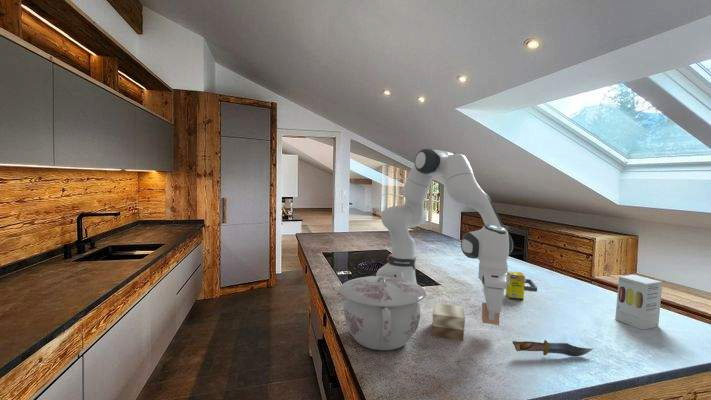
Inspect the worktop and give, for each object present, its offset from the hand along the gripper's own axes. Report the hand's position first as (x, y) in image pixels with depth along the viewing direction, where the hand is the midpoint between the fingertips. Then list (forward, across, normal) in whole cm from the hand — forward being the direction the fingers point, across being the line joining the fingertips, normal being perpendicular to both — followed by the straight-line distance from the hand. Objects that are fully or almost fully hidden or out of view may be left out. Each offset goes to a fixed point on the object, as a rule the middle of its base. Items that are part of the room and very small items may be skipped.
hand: (490, 315), depth 111 cm
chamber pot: (+7, +15, -34) cm, 38 cm away
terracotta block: (+2, 0, 0) cm, 2 cm away
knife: (+7, +9, +17) cm, 20 cm away
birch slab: (+3, +2, -13) cm, 14 cm away
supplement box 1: (+7, -42, +14) cm, 45 cm away
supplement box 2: (+7, -28, +53) cm, 61 cm away
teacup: (+8, -61, +18) cm, 64 cm away
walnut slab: (+7, +2, -13) cm, 15 cm away
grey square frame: (+7, -62, +19) cm, 65 cm away
